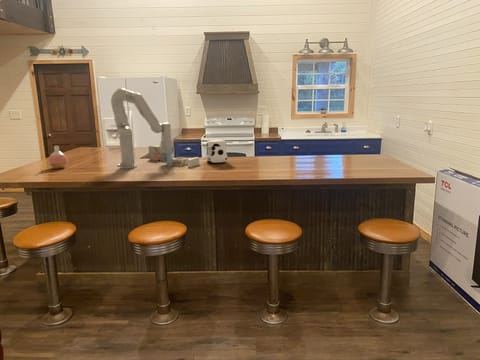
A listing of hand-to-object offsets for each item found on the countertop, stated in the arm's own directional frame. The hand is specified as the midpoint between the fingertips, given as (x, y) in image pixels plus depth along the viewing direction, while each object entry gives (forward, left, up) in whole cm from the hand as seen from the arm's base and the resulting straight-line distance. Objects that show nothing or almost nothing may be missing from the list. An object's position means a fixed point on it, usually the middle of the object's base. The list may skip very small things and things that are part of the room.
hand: (167, 161), depth 286 cm
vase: (-47, +70, -3) cm, 84 cm away
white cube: (+21, -33, -3) cm, 40 cm away
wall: (0, -25, -2) cm, 25 cm away
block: (0, -11, -2) cm, 12 cm away
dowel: (-10, -9, -3) cm, 14 cm away
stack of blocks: (+14, +20, -3) cm, 24 cm away
